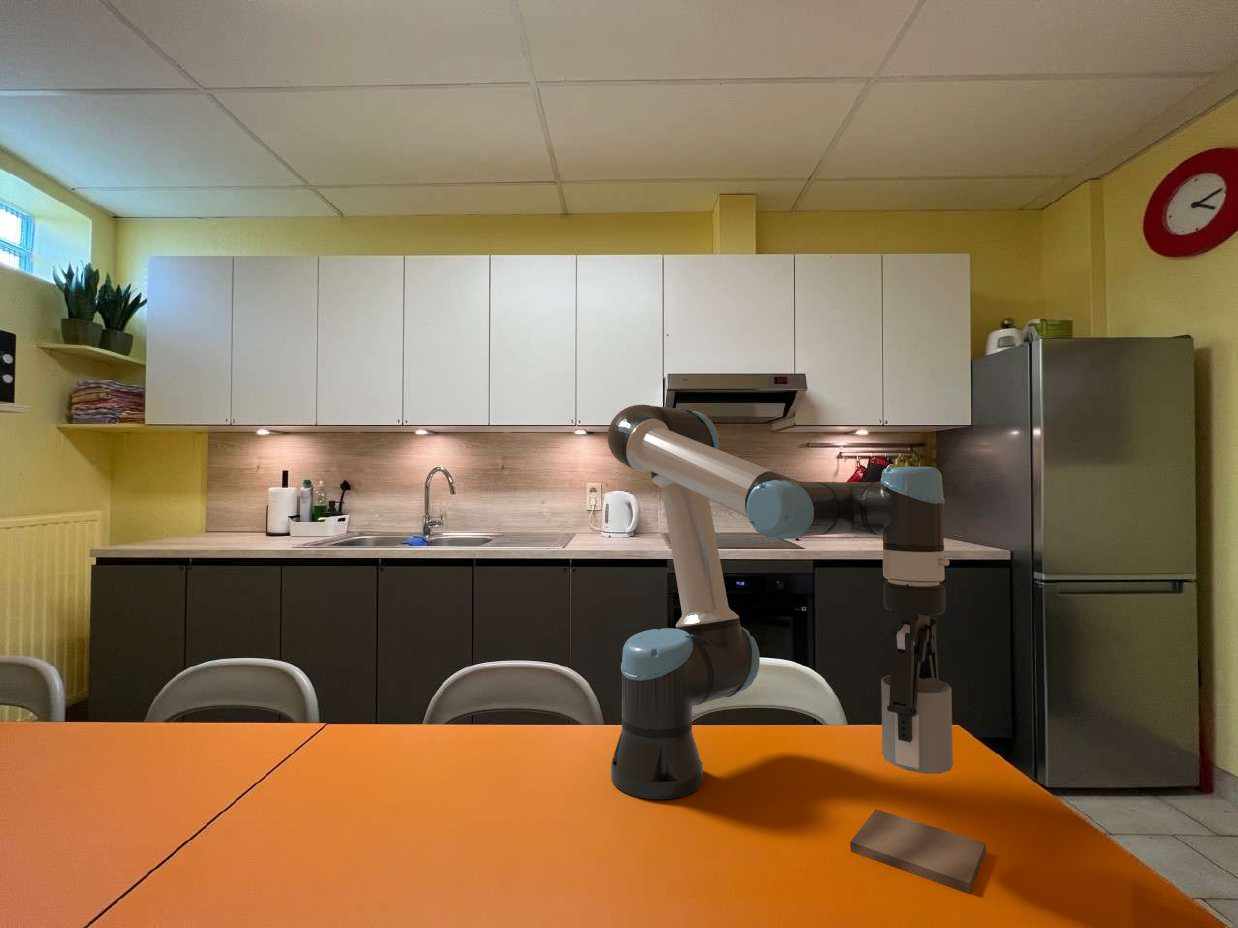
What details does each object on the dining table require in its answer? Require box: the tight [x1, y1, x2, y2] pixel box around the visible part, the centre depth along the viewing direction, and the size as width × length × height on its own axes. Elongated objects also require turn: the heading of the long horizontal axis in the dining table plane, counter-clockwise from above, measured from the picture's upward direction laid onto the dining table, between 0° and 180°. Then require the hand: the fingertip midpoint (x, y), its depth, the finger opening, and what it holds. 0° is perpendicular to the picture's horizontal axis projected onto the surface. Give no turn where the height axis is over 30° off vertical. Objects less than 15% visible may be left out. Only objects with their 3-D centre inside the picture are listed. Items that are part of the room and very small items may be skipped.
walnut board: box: [849, 809, 987, 894], centre depth 83 cm, size 14×11×1 cm
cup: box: [880, 675, 954, 775], centre depth 84 cm, size 8×8×10 cm
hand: (916, 753), depth 84 cm, fingers closed on cup, 8 cm apart
